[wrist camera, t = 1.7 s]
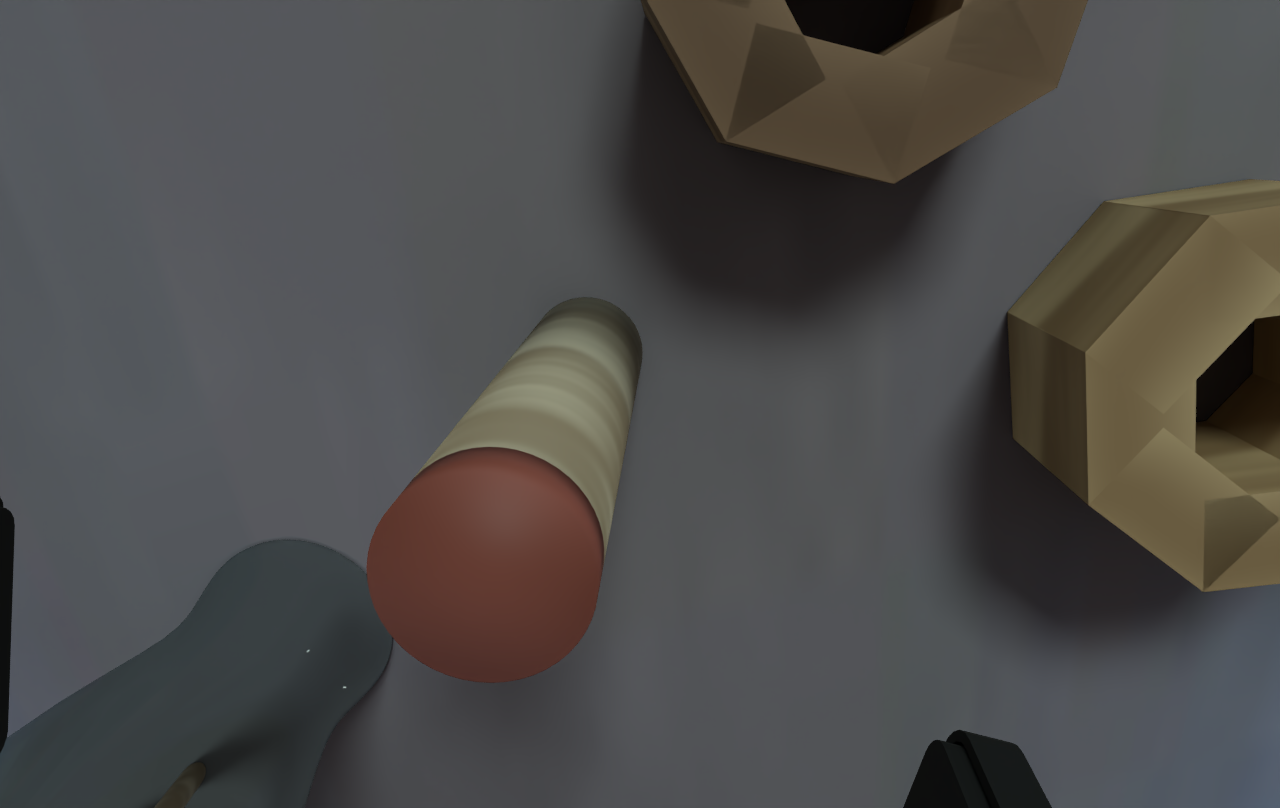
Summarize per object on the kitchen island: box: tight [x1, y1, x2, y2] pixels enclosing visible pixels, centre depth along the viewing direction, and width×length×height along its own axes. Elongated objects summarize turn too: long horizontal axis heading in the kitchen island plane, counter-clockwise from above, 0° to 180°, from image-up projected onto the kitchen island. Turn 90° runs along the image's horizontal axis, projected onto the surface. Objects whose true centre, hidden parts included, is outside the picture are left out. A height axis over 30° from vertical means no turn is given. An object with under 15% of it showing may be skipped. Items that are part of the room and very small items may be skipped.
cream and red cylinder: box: [367, 297, 642, 683], centre depth 19 cm, size 3×3×14 cm
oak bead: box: [1007, 179, 1280, 592], centre depth 22 cm, size 9×9×5 cm
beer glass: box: [0, 540, 392, 808], centre depth 21 cm, size 7×7×15 cm
